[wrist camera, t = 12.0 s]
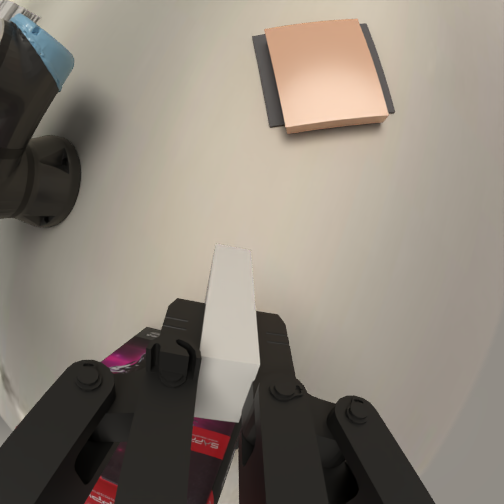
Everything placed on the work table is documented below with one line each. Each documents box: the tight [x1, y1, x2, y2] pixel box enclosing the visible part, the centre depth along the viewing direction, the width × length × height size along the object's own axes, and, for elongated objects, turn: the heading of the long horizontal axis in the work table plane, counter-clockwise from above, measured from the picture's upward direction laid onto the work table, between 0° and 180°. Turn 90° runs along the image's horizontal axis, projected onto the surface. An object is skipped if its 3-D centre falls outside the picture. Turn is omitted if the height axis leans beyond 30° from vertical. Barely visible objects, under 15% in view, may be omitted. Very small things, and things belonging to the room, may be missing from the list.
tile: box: [264, 19, 389, 134], centre depth 33 cm, size 3×12×14 cm
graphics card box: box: [16, 327, 242, 504], centre depth 29 cm, size 17×7×27 cm, turn 83°
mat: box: [252, 24, 395, 127], centre depth 34 cm, size 14×16×1 cm
